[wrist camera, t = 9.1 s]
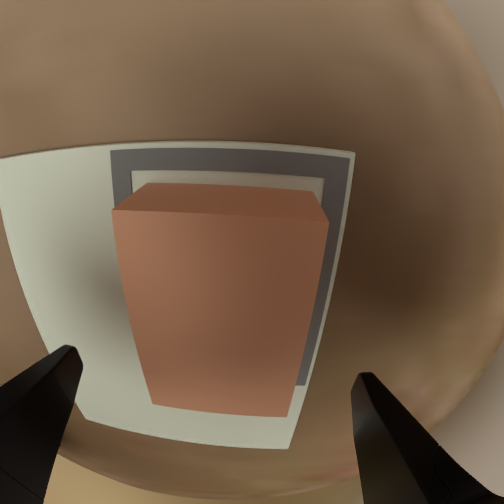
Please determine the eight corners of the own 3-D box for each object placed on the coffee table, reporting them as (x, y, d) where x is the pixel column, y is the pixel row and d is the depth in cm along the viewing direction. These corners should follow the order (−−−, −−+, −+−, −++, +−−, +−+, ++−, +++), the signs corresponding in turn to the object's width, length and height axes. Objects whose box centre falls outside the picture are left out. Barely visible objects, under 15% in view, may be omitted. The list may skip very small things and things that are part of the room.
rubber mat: (287, 443, 19) (288, 450, 19) (87, 414, 20) (85, 420, 19) (351, 151, 10) (356, 153, 10) (-1, 158, 11) (-8, 161, 10)
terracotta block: (313, 191, 11) (329, 222, 8) (284, 369, 15) (286, 417, 12) (146, 182, 11) (111, 210, 8) (167, 358, 15) (152, 404, 12)
